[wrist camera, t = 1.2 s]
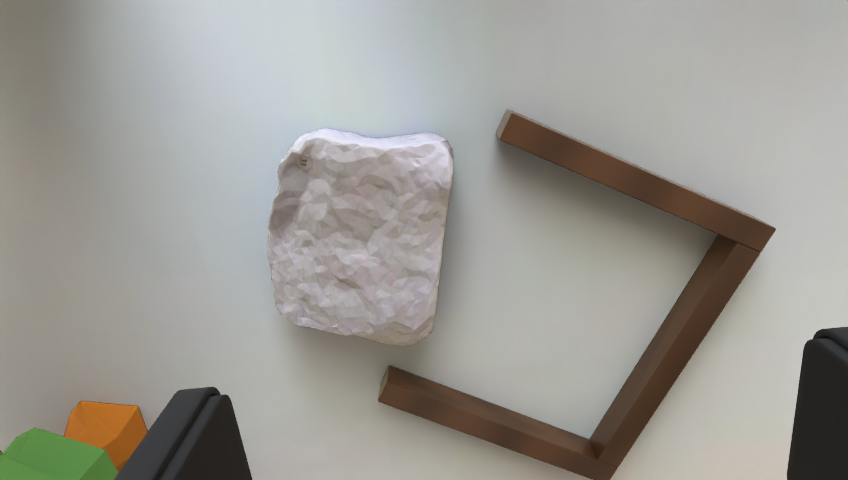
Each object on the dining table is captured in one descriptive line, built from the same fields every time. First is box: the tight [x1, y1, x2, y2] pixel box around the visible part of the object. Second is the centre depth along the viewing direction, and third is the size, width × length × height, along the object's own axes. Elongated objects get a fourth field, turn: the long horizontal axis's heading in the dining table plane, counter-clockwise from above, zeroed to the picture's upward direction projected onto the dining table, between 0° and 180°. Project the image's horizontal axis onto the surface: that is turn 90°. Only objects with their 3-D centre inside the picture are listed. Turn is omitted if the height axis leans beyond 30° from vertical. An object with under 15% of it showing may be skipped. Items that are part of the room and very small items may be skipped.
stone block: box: [267, 128, 453, 345], centre depth 31 cm, size 12×5×10 cm
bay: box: [378, 109, 776, 480], centre depth 33 cm, size 16×19×2 cm
